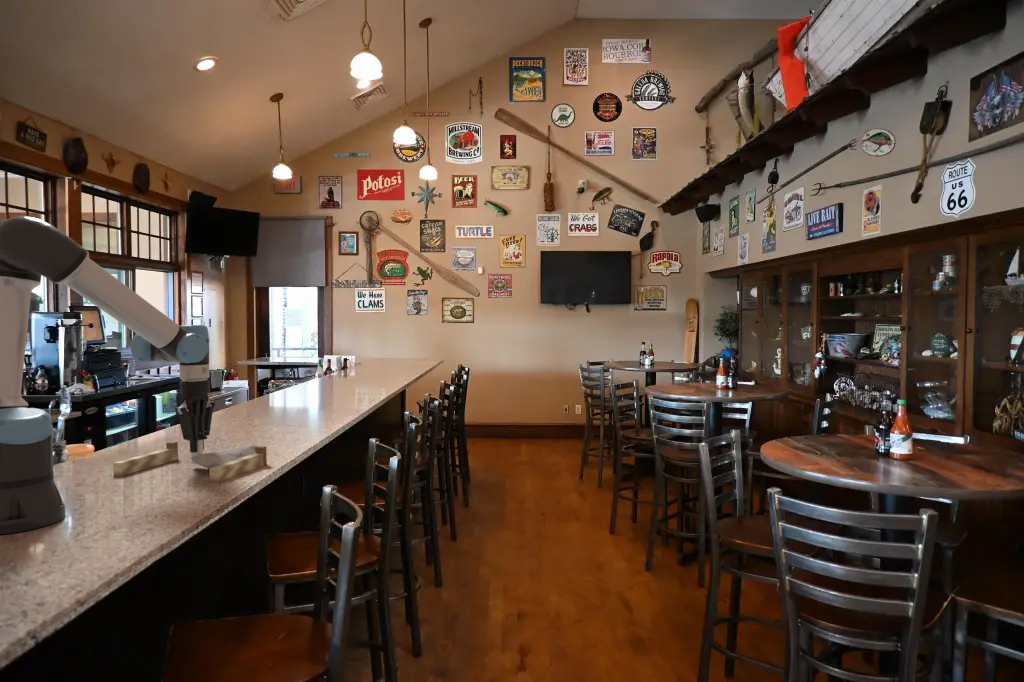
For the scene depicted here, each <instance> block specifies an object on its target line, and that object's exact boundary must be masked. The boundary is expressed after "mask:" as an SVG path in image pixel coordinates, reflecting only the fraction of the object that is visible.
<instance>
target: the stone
mask: <svg viewBox="0 0 1024 682" xmlns="http://www.w3.org/2000/svg"><path fill="white" fill-rule="evenodd" d="M257 446H258V445H257V444H244V445H239V446H233V447H230V448H225V449H217V450H215V451H213V452H208V453H203V454H199V455H197V456H194V457H192V460H193V461H194V462H195V463H196V465H199V466H201V467H204V468H205V469H208V470H209V468H212V467H215V466H218V465H221V464H224V463H227V462H230V461H233V460H236V459H239V458H242V457H245V456H248V455H251V454H254V453H255V447H257Z"/></svg>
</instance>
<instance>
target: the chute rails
mask: <svg viewBox="0 0 1024 682" xmlns="http://www.w3.org/2000/svg"><path fill="white" fill-rule="evenodd" d="M165 444H166V448H164V449H163V448H162V449H160V450H156V451H151V452H148V453H145V454H144V453H143V454H141V455H136V456H134V457H130V458H125V459H121V460H119V461H114V462H113V463H112V464H113V465H112V467H113V476H115V477H122V476H123V477H124V476H126V475H130V474H132V473H136V472H139V471H144V470H146V469H149V468H153V467H156V466H159V465H163V464H166V463H170V462H173V461H176V460H178V459H179V450H178V449H179V447H178V446H179V445H178V441H168V442H166V443H165ZM267 462H268V461H267V446H265V445H263V446H262V445H257V447H255V453H254V454H251V455H248V456H245V457H242V458H239V459H236V460H233V461H230V462H227V463H224V464H221V465H218V466H215V467H212V468H209V469H208V470H209V483H220V482H223V481H225V480H226V481H227V480H228V479H231V478H234V477H236V476H237V477H238V476H239V475H241V474H245V473H246V472H249V471H252V470H255V469H258V468H260V467H264V466H266V465H268V463H267Z"/></svg>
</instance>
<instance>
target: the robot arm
mask: <svg viewBox="0 0 1024 682" xmlns="http://www.w3.org/2000/svg"><path fill="white" fill-rule="evenodd" d="M42 277H44V278H46V279H47V280H49V281H50V282H52V283H53V284H57V285H58V284H59V285H60V284H64V285H65V286H66V287H67V288H69V289H71V290H72V291H74V292H76V293H77V294H78V295H80V296H81V297H83V298H84V299H85V300H87V301H88V302H90V303H91V304H93V305H94V306H96V307H97V308H99V309H100V310H101V311H103V313H106V314H107V315H109V316H110V317H112V318H113V319H115V320H116V321H118V322H119V324H120V323H121V324H122V325H123V326H125V327H126V328H127V329H129V330H130V331H132V332H133V333H135V335H134V336H133V337H132V339H131V342H130V353H131V355H132V357H133V359H134V360H135V361H136V362H139V363H143V362H144V363H146V362H147V363H151V362H168V363H178V364H179V366H178V367H179V379H180V380H181V381H180V382H179V392H180V394H181V395H182V400H181V404H180V406H176V407H175V408H174V411H175V414H177V416H178V420H179V425H180V430H181V435H182V437H183V440H186V441H187V442H189V451H190V454H191V457H190V458H191V460H190V461H191V464H196V463H195V462H194V461H193V460H192V457H194V456H197V455H199V454H204V450H205V442H204V441H205V440H207V439H208V436H210V433H211V426H212V420H213V419H212V418H213V413H214V409H215V405H216V402H215V401H211V400H209V393H210V392H211V381H210V379H209V378H210V338H209V337H210V336H209V329H208V326H206V324H185V325H184V324H183V325H180V324H178V323H177V322H176V321H174V320H173V319H171V318H170V317H169V316H167V315H166V314H164V313H163V312H162V311H161V310H159V309H158V308H157V307H155V306H154V305H152V304H151V303H150V302H149V301H147V300H146V299H144V298H143V297H142V296H140V295H139V293H137V292H135V291H134V290H133V289H131V288H129V287H128V286H127V285H126V284H124V283H123V282H122V281H121V280H119V279H118V278H117V277H115V276H114V275H112V274H111V273H110V272H108V271H107V270H105V269H104V268H103V267H102V266H100V264H98V263H96V262H95V261H93V260H92V258H90V254H89V251H88V250H87V249H86V248H84V247H83V246H81V244H79V243H77V242H76V241H75V240H74V239H72V238H71V237H70V236H69V235H67V234H66V233H64V232H63V231H61V230H59V229H58V228H56V227H55V226H54V225H52V224H51V223H49V222H47V221H44V220H42V219H41V218H36V217H31V216H24V215H23V216H14V217H10V218H6V219H0V535H6V534H14V533H20V532H25V531H32V530H36V529H41V528H43V527H46V526H49V525H53V524H54V523H57V522H59V521H61V520H62V519H64V518H65V517H66V505H65V502H64V501H63V498H62V496H61V493H60V492H59V489H58V487H57V485H56V483H55V479H54V477H55V473H54V448H53V447H54V445H53V443H54V441H53V430H54V426H53V423H52V418H51V415H50V413H48V411H46V410H44V409H41V408H36V407H29V403H28V402H27V401H26V400H25V399H24V398H23V397H22V395H21V394H22V386H23V376H24V375H23V374H24V366H25V356H26V346H27V337H28V336H27V334H28V327H29V316H30V315H29V314H30V307H31V306H30V305H31V297H32V296H31V295H32V291H33V290H34V289H35V288H36V287H38V286H40V285H41V282H42ZM196 465H197V464H196Z"/></svg>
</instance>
